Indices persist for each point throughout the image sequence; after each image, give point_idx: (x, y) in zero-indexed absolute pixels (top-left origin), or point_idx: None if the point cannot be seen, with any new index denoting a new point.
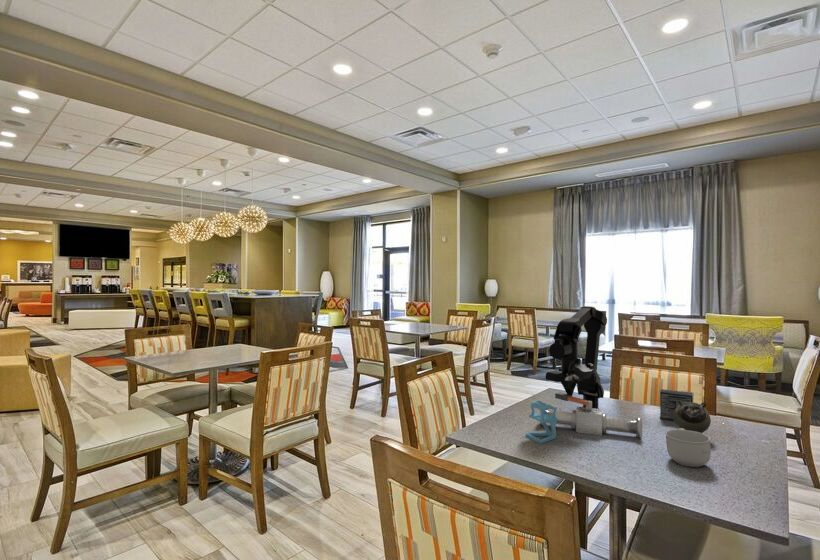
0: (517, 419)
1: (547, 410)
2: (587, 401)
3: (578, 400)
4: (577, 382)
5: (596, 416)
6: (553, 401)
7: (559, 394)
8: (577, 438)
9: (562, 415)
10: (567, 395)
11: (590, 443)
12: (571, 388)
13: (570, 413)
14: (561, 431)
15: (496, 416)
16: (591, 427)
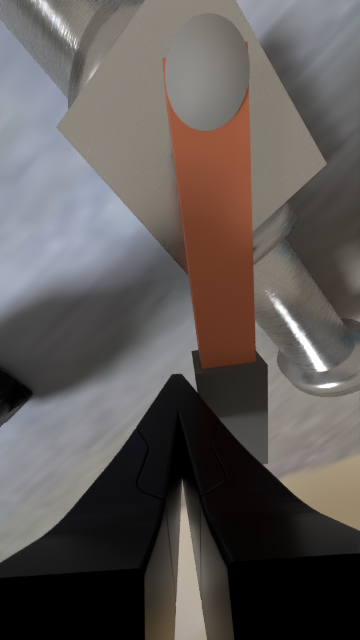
0: (323, 409)
1: (338, 351)
2: (230, 83)
3: (249, 228)
4: (34, 550)
5: None
6: (58, 498)
7: (265, 429)
8: (328, 130)
9: (307, 275)
10: (239, 379)
11: (342, 25)
12: (199, 435)
13: (272, 255)
14: (304, 244)
15: (354, 450)
16: None
